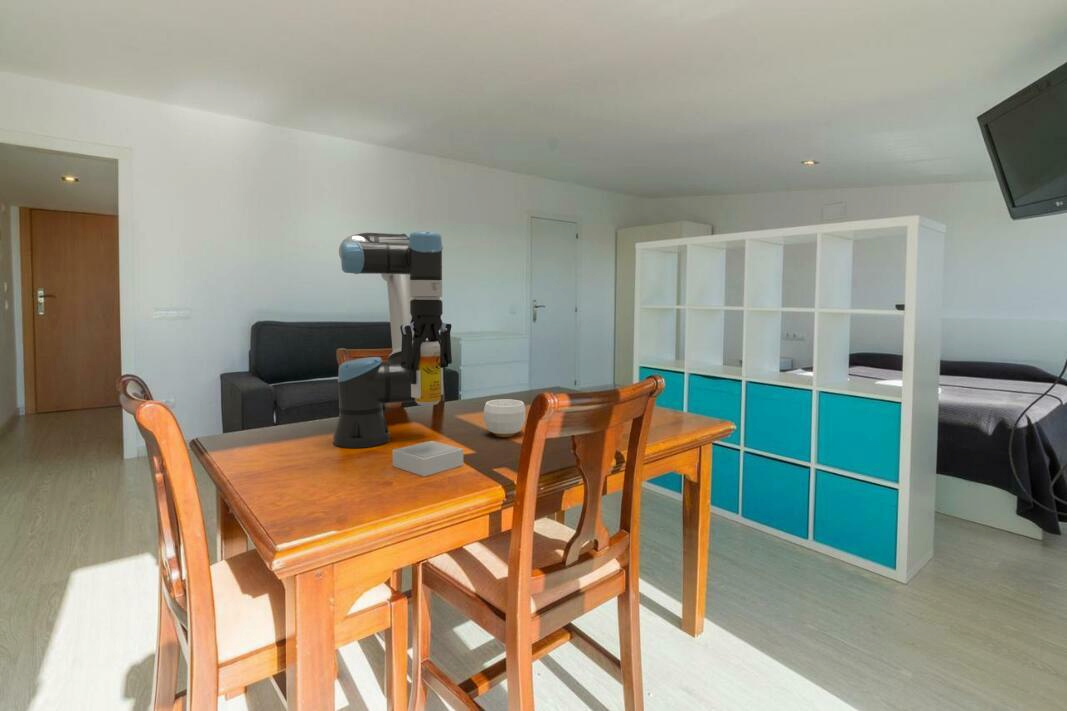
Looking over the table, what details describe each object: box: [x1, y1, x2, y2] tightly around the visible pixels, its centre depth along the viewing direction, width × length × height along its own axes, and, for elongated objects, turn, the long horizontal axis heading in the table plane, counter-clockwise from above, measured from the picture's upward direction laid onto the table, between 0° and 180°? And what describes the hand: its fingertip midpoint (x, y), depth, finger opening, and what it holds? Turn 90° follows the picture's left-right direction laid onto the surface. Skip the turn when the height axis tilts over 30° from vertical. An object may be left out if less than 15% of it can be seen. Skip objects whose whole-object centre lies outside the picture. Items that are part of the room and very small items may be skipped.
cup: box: [483, 398, 527, 438], centre depth 172 cm, size 12×12×10 cm
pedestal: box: [392, 440, 464, 478], centre depth 141 cm, size 12×12×4 cm
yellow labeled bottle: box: [415, 339, 442, 406], centre depth 139 cm, size 6×6×15 cm
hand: (427, 395), depth 139 cm, fingers closed on yellow labeled bottle, 6 cm apart
